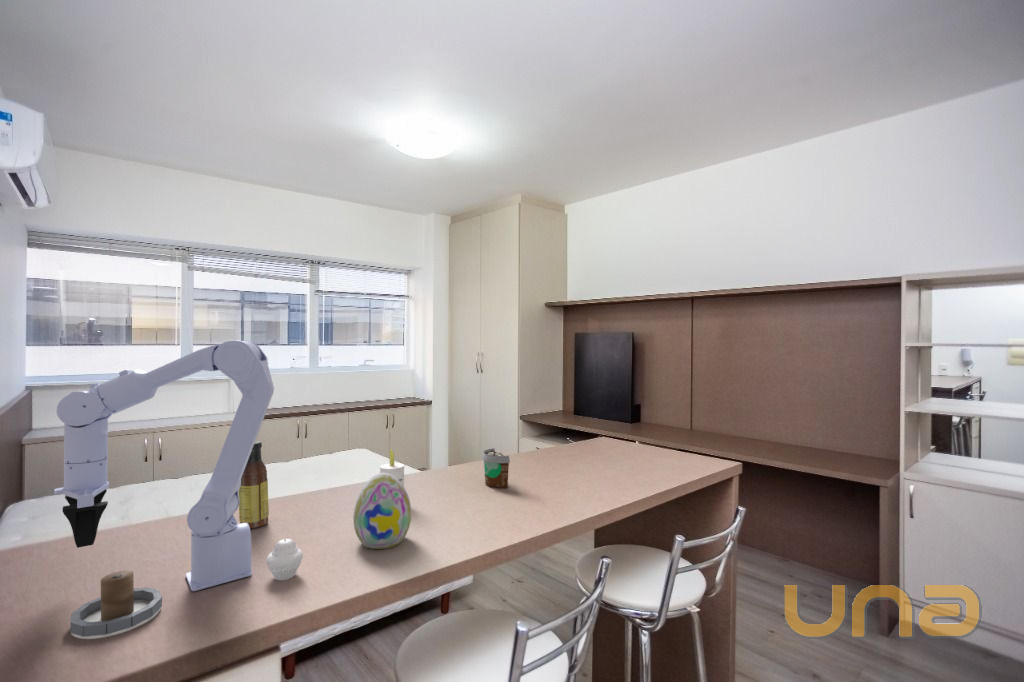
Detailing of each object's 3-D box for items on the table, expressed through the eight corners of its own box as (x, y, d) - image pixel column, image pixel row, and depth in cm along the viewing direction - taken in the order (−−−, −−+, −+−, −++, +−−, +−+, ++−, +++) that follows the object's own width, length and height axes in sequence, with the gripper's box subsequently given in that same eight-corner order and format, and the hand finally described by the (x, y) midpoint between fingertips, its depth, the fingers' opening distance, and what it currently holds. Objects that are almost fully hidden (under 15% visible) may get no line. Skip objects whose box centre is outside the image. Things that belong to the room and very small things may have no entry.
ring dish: (157, 592, 84) (157, 581, 84) (164, 620, 76) (164, 607, 76) (71, 616, 77) (71, 603, 77) (69, 649, 68) (69, 634, 68)
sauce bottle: (261, 518, 120) (262, 438, 120) (273, 524, 116) (274, 441, 116) (233, 526, 115) (233, 442, 115) (244, 532, 111) (245, 445, 111)
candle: (390, 510, 126) (390, 452, 126) (374, 505, 130) (375, 449, 130) (409, 504, 131) (409, 448, 131) (393, 499, 135) (394, 445, 135)
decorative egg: (351, 556, 99) (352, 483, 99) (354, 534, 110) (354, 468, 110) (413, 550, 102) (413, 478, 102) (409, 528, 114) (409, 464, 114)
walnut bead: (132, 604, 79) (131, 567, 79) (135, 614, 76) (134, 576, 76) (100, 614, 76) (99, 576, 76) (101, 625, 73) (101, 585, 73)
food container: (475, 481, 153) (475, 449, 153) (493, 479, 156) (493, 447, 156) (490, 492, 142) (490, 457, 142) (509, 489, 145) (509, 455, 145)
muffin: (308, 568, 93) (308, 532, 93) (294, 584, 87) (295, 545, 87) (275, 569, 93) (275, 532, 93) (259, 585, 87) (260, 545, 87)
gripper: (57, 456, 87) (56, 532, 87) (51, 472, 76) (50, 559, 76) (108, 450, 91) (107, 522, 91) (110, 465, 81) (109, 547, 80)
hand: (85, 538), depth 84 cm, fingers open, 7 cm apart
